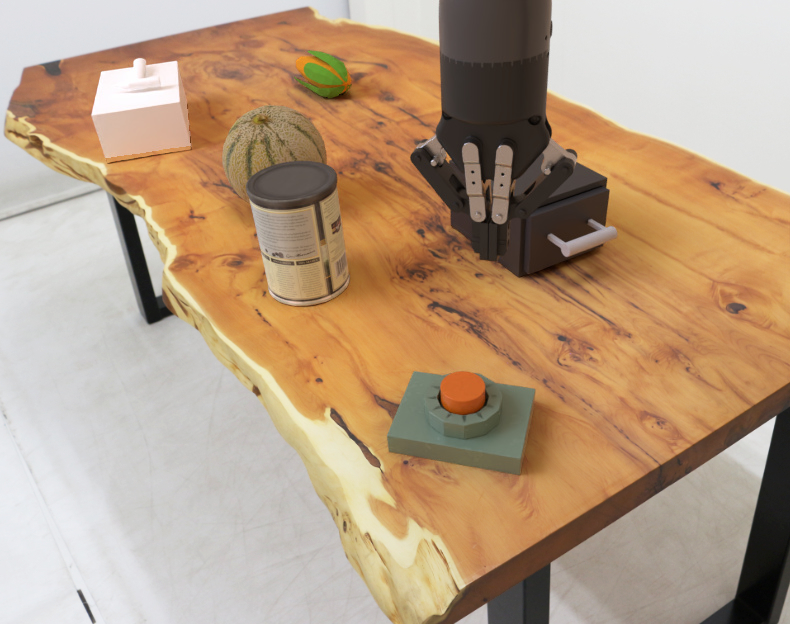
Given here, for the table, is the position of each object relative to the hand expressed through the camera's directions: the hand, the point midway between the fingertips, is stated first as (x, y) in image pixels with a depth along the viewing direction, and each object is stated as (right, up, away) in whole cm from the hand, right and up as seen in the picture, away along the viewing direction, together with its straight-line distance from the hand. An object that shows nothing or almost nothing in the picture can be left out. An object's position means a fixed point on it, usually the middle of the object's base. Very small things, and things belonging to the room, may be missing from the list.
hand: (491, 255), depth 59 cm
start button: (-2, -13, +6) cm, 14 cm away
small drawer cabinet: (+9, +5, +35) cm, 37 cm away
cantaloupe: (-25, +11, +47) cm, 55 cm away
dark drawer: (+11, +4, +32) cm, 34 cm away
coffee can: (-19, -1, +30) cm, 35 cm away
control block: (-2, -15, +8) cm, 17 cm away
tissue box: (-54, +29, +75) cm, 97 cm away
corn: (-23, +41, +87) cm, 99 cm away
